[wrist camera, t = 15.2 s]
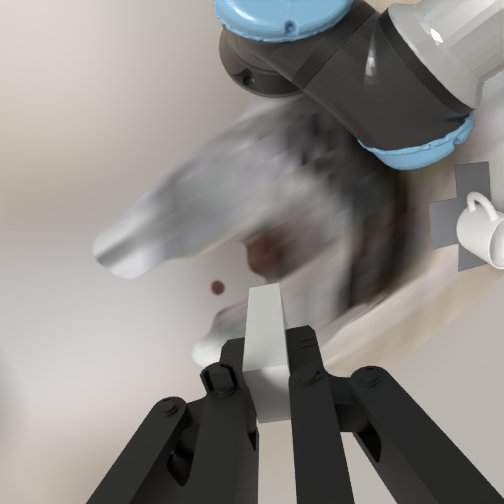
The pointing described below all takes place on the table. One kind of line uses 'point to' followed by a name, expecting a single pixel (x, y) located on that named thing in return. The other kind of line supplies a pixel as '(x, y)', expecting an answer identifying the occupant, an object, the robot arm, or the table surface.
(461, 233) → the mug
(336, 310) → the table surface
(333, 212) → the table surface
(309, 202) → the table surface
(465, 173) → the t mat
